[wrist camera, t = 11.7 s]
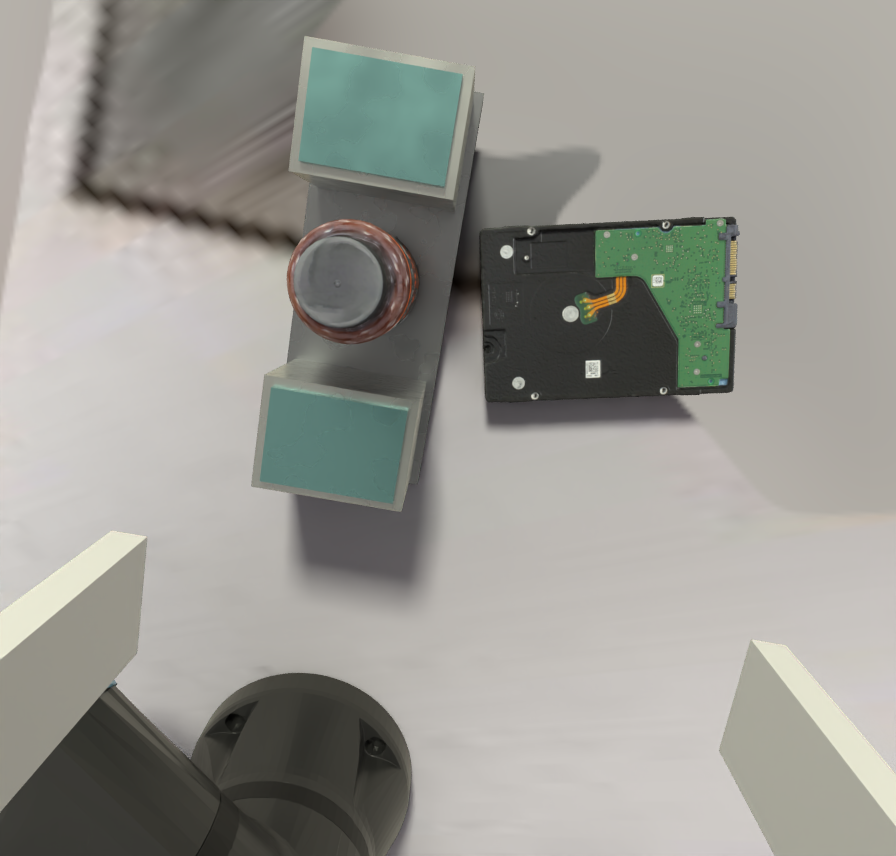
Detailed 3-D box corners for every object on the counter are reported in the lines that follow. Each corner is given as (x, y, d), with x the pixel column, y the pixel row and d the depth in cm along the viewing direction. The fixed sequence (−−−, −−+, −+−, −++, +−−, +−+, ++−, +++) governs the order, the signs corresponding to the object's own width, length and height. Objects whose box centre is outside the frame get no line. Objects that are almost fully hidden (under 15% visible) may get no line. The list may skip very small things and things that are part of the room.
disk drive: (485, 398, 46) (722, 386, 46) (485, 406, 44) (737, 393, 43) (476, 230, 44) (725, 214, 43) (476, 227, 41) (742, 211, 41)
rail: (418, 477, 47) (408, 525, 38) (280, 454, 47) (238, 495, 38) (483, 99, 42) (488, 54, 33) (329, 71, 42) (293, 19, 33)
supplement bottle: (429, 322, 43) (417, 340, 32) (332, 340, 43) (286, 364, 32) (410, 220, 42) (391, 201, 31) (310, 239, 42) (255, 228, 31)
